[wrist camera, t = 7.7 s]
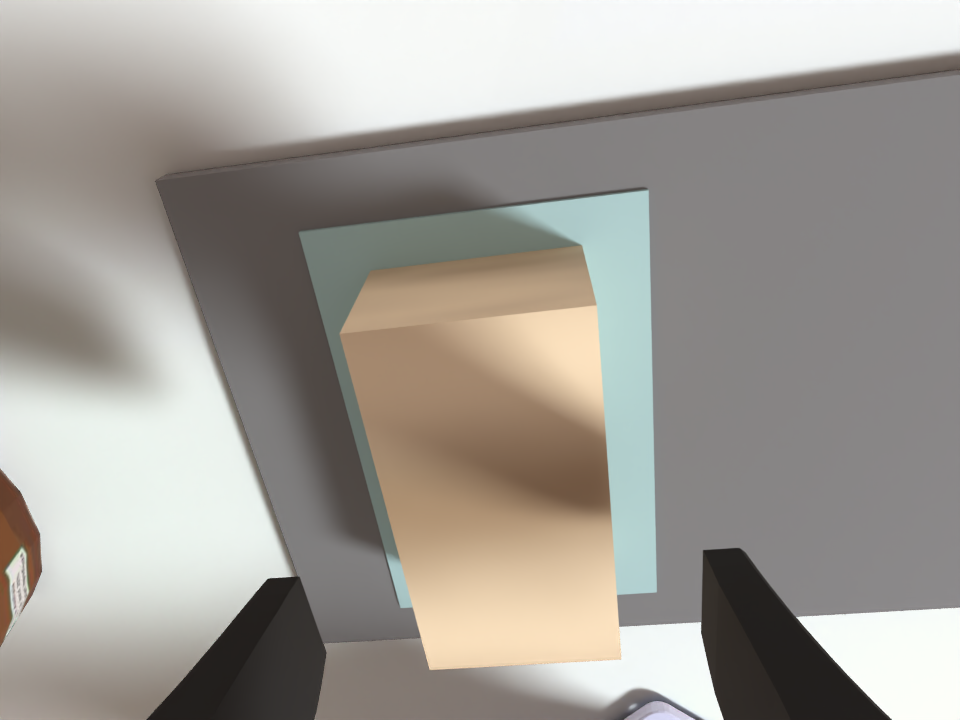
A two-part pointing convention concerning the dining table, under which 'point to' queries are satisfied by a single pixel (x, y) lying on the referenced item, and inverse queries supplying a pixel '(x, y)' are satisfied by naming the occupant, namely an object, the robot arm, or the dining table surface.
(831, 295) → the mat
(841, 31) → the dining table surface
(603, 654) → the tan wooden block
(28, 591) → the food container
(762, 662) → the robot arm
